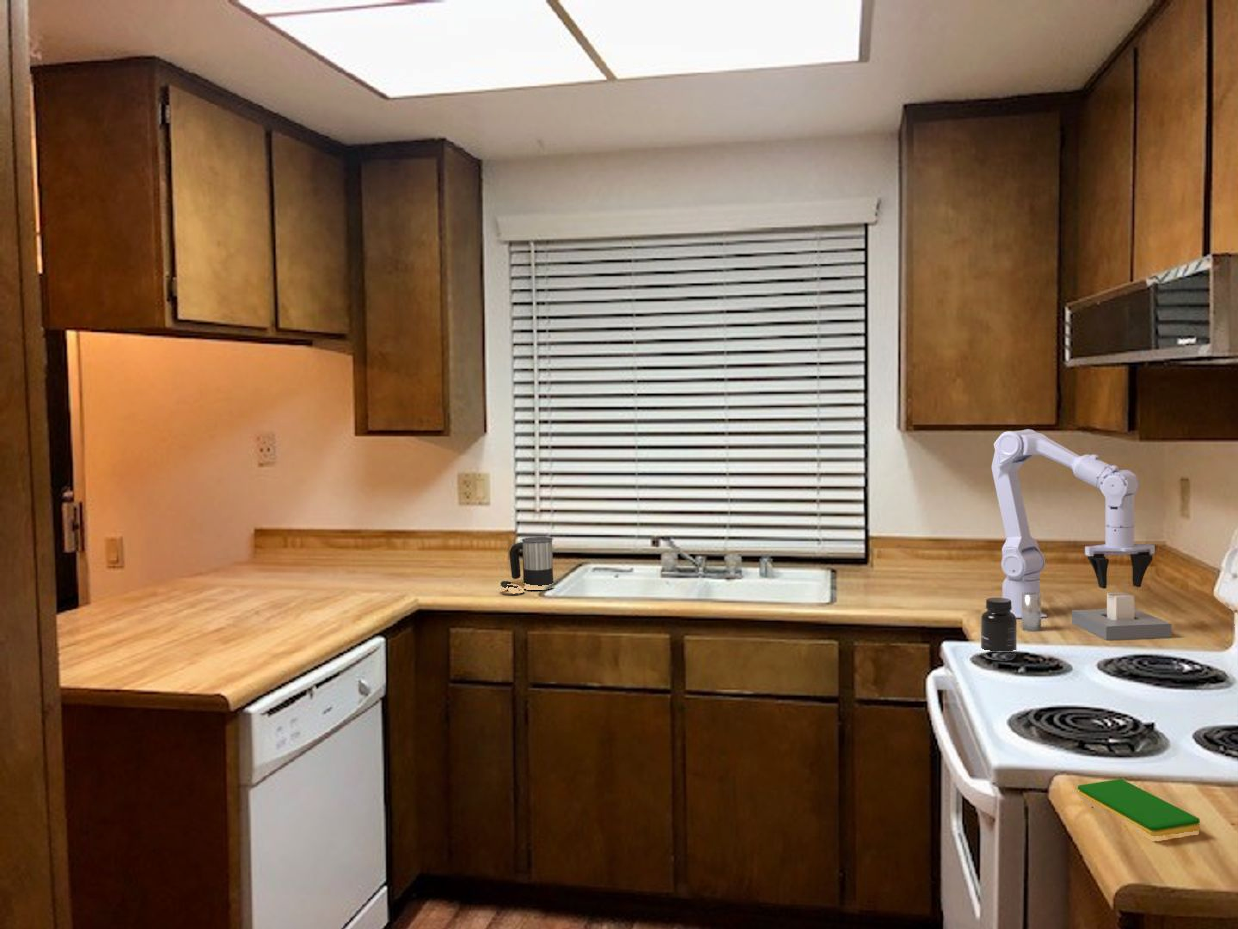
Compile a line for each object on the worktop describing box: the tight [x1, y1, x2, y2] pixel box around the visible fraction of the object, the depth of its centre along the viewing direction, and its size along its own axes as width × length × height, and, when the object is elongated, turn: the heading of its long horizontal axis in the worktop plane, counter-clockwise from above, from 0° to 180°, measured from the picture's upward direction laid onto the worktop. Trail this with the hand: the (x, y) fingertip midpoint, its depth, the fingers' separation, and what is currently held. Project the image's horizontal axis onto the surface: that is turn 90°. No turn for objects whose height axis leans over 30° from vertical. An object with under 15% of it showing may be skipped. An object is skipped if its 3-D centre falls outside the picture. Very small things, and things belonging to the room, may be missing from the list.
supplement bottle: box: [980, 597, 1018, 651], centre depth 207 cm, size 7×7×12 cm
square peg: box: [1106, 592, 1135, 620], centre depth 225 cm, size 4×4×8 cm
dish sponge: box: [1077, 778, 1201, 837], centre depth 131 cm, size 7×14×2 cm, turn 14°
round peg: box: [1021, 592, 1042, 632], centre depth 229 cm, size 4×4×8 cm
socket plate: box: [1071, 608, 1172, 641], centre depth 225 cm, size 16×14×3 cm
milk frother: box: [500, 536, 554, 588], centre depth 295 cm, size 14×16×15 cm
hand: (1119, 587), depth 225 cm, fingers open, 7 cm apart
